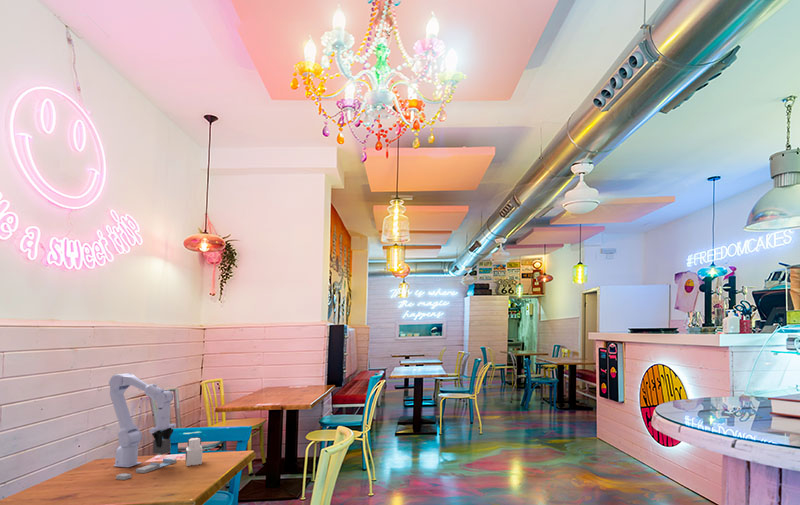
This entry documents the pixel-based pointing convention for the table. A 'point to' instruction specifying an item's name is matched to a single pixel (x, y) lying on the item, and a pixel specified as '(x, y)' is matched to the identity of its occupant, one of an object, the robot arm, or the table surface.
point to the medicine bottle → (194, 452)
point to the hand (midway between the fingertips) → (162, 446)
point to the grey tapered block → (162, 447)
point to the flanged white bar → (147, 468)
